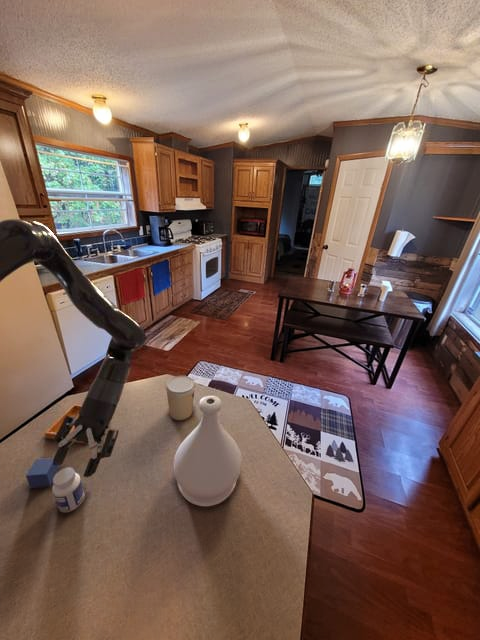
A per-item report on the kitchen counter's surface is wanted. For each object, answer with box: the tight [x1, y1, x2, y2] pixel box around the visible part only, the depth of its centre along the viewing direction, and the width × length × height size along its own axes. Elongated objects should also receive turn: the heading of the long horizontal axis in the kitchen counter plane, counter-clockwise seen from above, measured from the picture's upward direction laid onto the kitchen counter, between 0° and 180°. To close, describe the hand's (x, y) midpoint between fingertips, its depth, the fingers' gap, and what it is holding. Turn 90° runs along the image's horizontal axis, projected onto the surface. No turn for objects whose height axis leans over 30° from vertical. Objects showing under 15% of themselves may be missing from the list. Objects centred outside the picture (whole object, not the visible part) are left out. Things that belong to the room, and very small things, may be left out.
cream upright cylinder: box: [165, 375, 196, 421], centre depth 85 cm, size 9×9×12 cm
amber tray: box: [44, 403, 87, 445], centre depth 79 cm, size 12×12×2 cm
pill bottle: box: [52, 467, 86, 513], centre depth 57 cm, size 5×5×9 cm
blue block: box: [25, 457, 60, 489], centre depth 63 cm, size 4×4×4 cm
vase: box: [173, 395, 243, 507], centre depth 62 cm, size 17×17×25 cm
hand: (72, 470), depth 58 cm, fingers open, 8 cm apart
